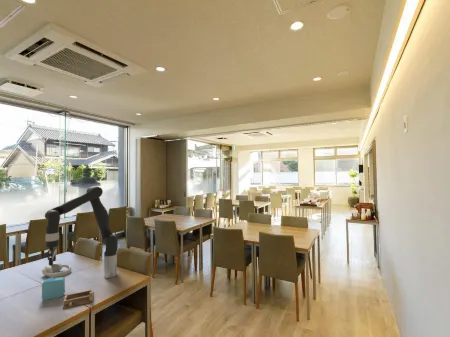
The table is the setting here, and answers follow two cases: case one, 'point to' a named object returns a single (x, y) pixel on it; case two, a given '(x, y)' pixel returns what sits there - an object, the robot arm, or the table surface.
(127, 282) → the table surface
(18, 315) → the table surface
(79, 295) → the caddy
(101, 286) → the table surface
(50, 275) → the headphones
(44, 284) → the data package
